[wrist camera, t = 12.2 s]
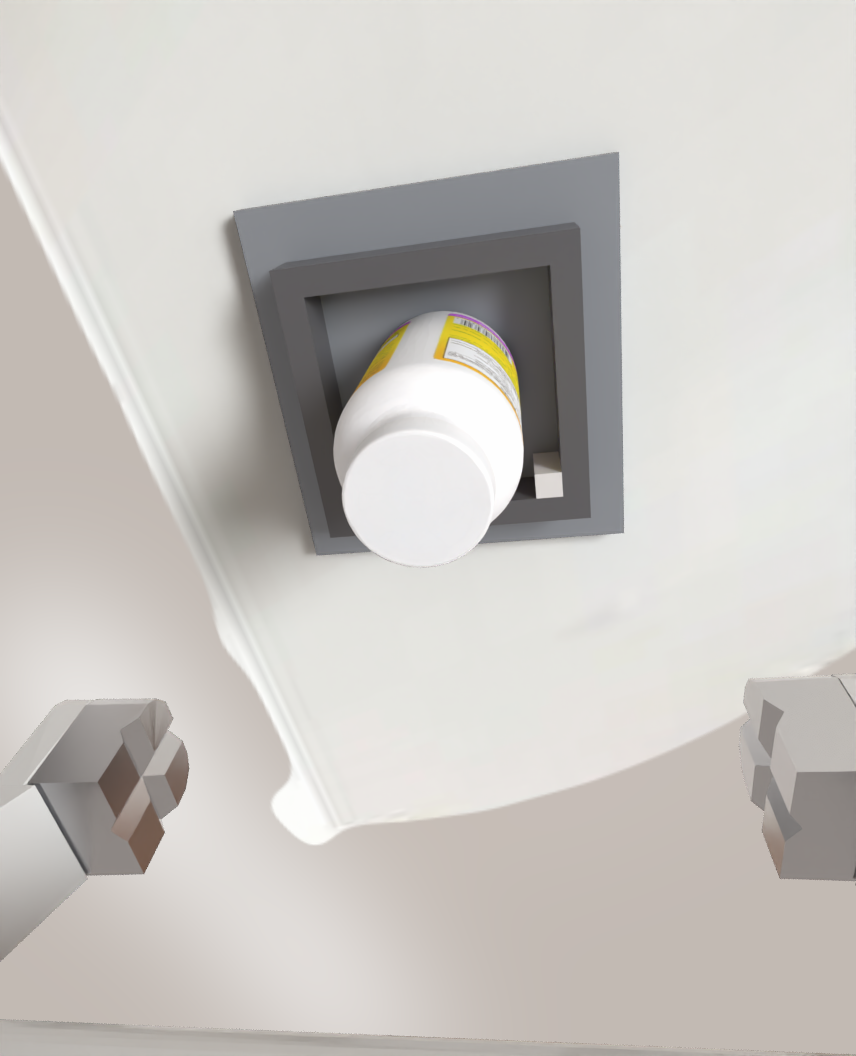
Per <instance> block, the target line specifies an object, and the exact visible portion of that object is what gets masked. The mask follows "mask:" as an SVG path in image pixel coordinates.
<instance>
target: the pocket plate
mask: <svg viewBox="0 0 856 1056" xmlns="http://www.w3.org/2000/svg"><path fill="white" fill-rule="evenodd" d="M233 213H234V217H235V221H236V225H237V229H238V233H239V237H240V241H241V245H242V250H243V254H244V258H245V262H246V266H247V270H248V274H249V278H250V282H251V287H252V291H253V295H254V299H255V303H256V307H257V311H258V315H259V319H260V324H261V328H262V332H263V336H264V340H265V344H266V348H267V352H268V356H269V360H270V365H271V369H272V373H273V377H274V381H275V385H276V389H277V393H278V397H279V402H280V406H281V410H282V414H283V418H284V422H285V426H286V430H287V434H288V439H289V443H290V447H291V451H292V455H293V459H294V463H295V467H296V471H297V475H298V480H299V484H300V488H301V492H302V496H303V500H304V504H305V508H306V512H307V517H308V521H309V525H310V529H311V533H312V537H313V541H314V545H315V549H316V554H317V555H329V554H343V553H357V552H370V551H371V550H370V549H368V548H367V547H366V546H365V545H364V544H363V543H362V542H361V541H360V540H359V539H358V537H357V536H356V535H355V533H354V532H353V530H352V529H351V527H350V525H349V523H348V521H347V518H346V516H345V513H344V509H343V504H342V486H341V484H340V482H339V479H338V476H337V472H336V469H335V464H334V455H333V447H334V437H335V431H336V427H337V424H338V421H339V418H340V416H341V414H342V412H343V410H344V408H345V406H346V404H347V402H348V401H349V399H350V398H351V396H352V395H353V393H354V391H355V390H356V388H357V386H358V385H359V383H360V382H361V380H362V378H363V376H364V375H365V373H366V371H367V370H368V368H369V366H370V365H371V363H372V361H373V359H374V358H375V356H376V354H377V353H378V351H379V350H380V348H381V347H382V345H383V344H384V342H385V341H386V339H387V338H388V337H389V336H390V335H391V334H392V333H393V332H394V331H395V330H396V329H397V328H398V327H399V326H401V325H402V324H403V323H405V322H407V321H408V320H410V319H412V318H414V317H417V316H419V315H422V314H425V313H429V312H436V311H451V312H458V313H463V314H466V315H469V316H472V317H474V318H476V319H478V320H480V321H482V322H483V323H485V324H486V325H488V326H489V327H490V328H492V329H493V330H494V331H495V332H496V333H497V334H498V335H499V336H500V337H501V339H502V340H503V341H504V343H505V344H506V346H507V347H508V349H509V351H510V353H511V355H512V357H513V360H514V363H515V366H516V371H517V376H518V385H519V395H520V408H521V423H522V434H523V446H524V453H523V468H522V473H521V477H520V481H519V484H518V486H517V489H516V491H515V493H514V495H513V497H512V499H511V500H510V502H509V503H508V505H507V506H506V508H505V509H504V510H503V511H502V512H501V514H500V515H499V516H498V517H497V518H496V519H494V520H493V521H492V522H491V523H490V525H489V527H488V529H487V531H486V533H485V535H484V536H483V538H482V539H481V540H480V541H479V543H478V544H480V543H493V542H507V541H521V540H534V539H548V538H562V537H575V536H589V535H603V534H616V533H624V500H623V424H622V348H621V271H620V195H619V152H613V153H607V154H600V155H594V156H587V157H581V158H574V159H567V160H561V161H554V162H548V163H541V164H535V165H528V166H522V167H515V168H509V169H502V170H496V171H489V172H483V173H476V174H470V175H463V176H457V177H450V178H444V179H437V180H430V181H424V182H417V183H411V184H404V185H398V186H391V187H385V188H378V189H372V190H365V191H359V192H352V193H346V194H339V195H333V196H326V197H320V198H313V199H306V200H300V201H293V202H287V203H280V204H274V205H267V206H261V207H254V208H248V209H241V210H237V211H233Z"/></svg>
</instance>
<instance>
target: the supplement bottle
mask: <svg viewBox="0 0 856 1056" xmlns="http://www.w3.org/2000/svg"><path fill="white" fill-rule="evenodd" d="M523 453H524V446H523V434H522V423H521V408H520V395H519V385H518V376H517V371H516V366H515V363H514V360H513V357H512V355H511V353H510V351H509V349H508V347H507V346H506V344H505V343H504V341H503V340H502V339H501V337H500V336H499V335H498V334H497V333H496V332H495V331H494V330H493V329H492V328H490V327H489V326H488V325H486V324H485V323H483V322H482V321H480V320H478V319H476V318H474V317H472V316H469V315H466V314H463V313H458V312H451V311H436V312H429V313H425V314H422V315H419V316H417V317H414V318H412V319H410V320H408V321H407V322H405V323H403V324H402V325H401V326H399V327H398V328H397V329H396V330H395V331H394V332H393V333H392V334H391V335H390V336H389V337H388V338H387V339H386V341H385V342H384V344H383V345H382V347H381V348H380V350H379V351H378V353H377V354H376V356H375V358H374V359H373V361H372V363H371V365H370V366H369V368H368V370H367V371H366V373H365V375H364V376H363V378H362V380H361V382H360V383H359V385H358V386H357V388H356V390H355V391H354V393H353V395H352V396H351V398H350V399H349V401H348V402H347V404H346V406H345V408H344V410H343V412H342V414H341V416H340V418H339V421H338V424H337V427H336V431H335V437H334V447H333V455H334V464H335V469H336V472H337V476H338V479H339V482H340V484H341V486H342V504H343V509H344V513H345V516H346V518H347V521H348V523H349V525H350V527H351V529H352V530H353V532H354V533H355V535H356V536H357V537H358V539H359V540H360V541H361V542H362V543H363V544H364V545H365V546H366V547H367V548H368V549H370V550H371V551H372V552H374V553H375V554H377V555H378V556H380V557H382V558H384V559H386V560H388V561H390V562H393V563H396V564H400V565H404V566H408V567H422V568H424V567H435V566H440V565H444V564H447V563H450V562H453V561H455V560H457V559H458V558H460V557H462V556H464V555H465V554H467V553H468V552H469V551H471V550H472V549H473V548H474V547H475V546H476V545H477V544H478V543H479V541H480V540H481V539H482V538H483V536H484V535H485V533H486V531H487V529H488V527H489V525H490V523H491V522H492V521H493V520H494V519H496V518H497V517H498V516H499V515H500V514H501V512H502V511H503V510H504V509H505V508H506V506H507V505H508V503H509V502H510V500H511V499H512V497H513V495H514V493H515V491H516V489H517V486H518V484H519V481H520V477H521V473H522V468H523Z"/></svg>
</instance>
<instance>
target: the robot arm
mask: <svg viewBox="0 0 856 1056" xmlns="http://www.w3.org/2000/svg"><path fill="white" fill-rule="evenodd" d="M743 703H744V705H745V708H746V710H747V713H748V715H749V718H750V719H749V720H748V721H747V722H746V723H745V724H744V725H743V726H742V727H741V728H740V743H739V750H740V761H741V769H742V773H743V777H744V782H745V785H746V788H747V791H748V794H749V796H750V799H751V801H752V802H753V803H754V804H756V805H757V806H758V807H759V808H761V809H762V810H763V811H764V817H763V826H762V833H763V835H764V838H765V841H766V843H767V846H768V849H769V851H770V854H771V857H772V859H773V862H774V865H775V867H776V870H777V873H778V875H779V878H780V879H809V880H839V881H856V674H836V675H831V676H803V677H778V678H754V679H748V681H747V684H746V686H745V691H744V700H743ZM172 720H173V717H172V714H171V712H170V710H169V708H168V706H167V704H166V702H165V701H162V700H159V699H96V700H65V701H63V702H61V703H59V704H57V705H55V706H54V707H53V709H52V710H51V711H50V712H49V714H48V715H47V716H46V717H45V719H44V720H43V721H42V722H41V723H40V725H39V726H38V727H37V728H36V730H35V731H34V732H33V733H32V735H31V736H30V737H29V738H28V740H27V741H26V742H25V743H24V745H23V746H22V747H21V748H20V750H19V751H18V752H17V753H16V755H15V756H14V757H13V758H12V760H11V761H10V762H9V763H8V765H7V766H6V767H5V768H4V770H3V771H2V772H1V773H0V961H1V960H2V959H4V958H5V957H6V956H7V955H8V954H9V953H10V952H11V951H12V950H13V949H14V948H15V947H16V946H17V945H18V944H19V943H20V942H22V941H23V940H24V939H25V938H26V937H27V936H28V935H29V934H30V933H31V932H32V931H33V930H34V929H35V928H36V927H37V926H38V925H39V924H41V923H42V922H43V921H44V920H45V919H46V918H47V917H48V916H49V915H50V914H51V913H52V912H53V911H54V910H55V909H56V908H57V907H59V906H60V905H61V904H62V903H63V902H64V901H65V900H66V899H67V898H68V897H69V896H70V895H71V894H72V893H73V892H74V891H75V890H76V889H78V888H79V886H81V885H82V884H83V883H84V882H85V881H86V880H87V875H124V874H125V875H129V874H144V873H145V871H146V869H147V867H148V865H149V863H150V861H151V859H152V857H153V855H154V853H155V851H156V849H157V847H158V845H159V843H160V841H161V839H162V837H163V835H164V833H165V831H164V828H163V824H162V820H161V819H162V818H163V817H165V816H166V815H167V814H168V813H170V812H171V811H172V810H173V809H174V808H176V807H177V806H178V805H179V802H180V800H181V798H182V796H183V794H184V791H185V789H186V784H187V779H188V772H189V763H188V755H187V751H186V749H185V746H184V743H183V741H182V740H180V738H178V737H177V736H176V735H174V734H173V733H172V732H170V731H169V730H168V729H169V727H170V725H171V723H172ZM0 1056H856V1055H850V1054H825V1053H802V1052H778V1051H777V1052H776V1051H754V1050H730V1049H729V1050H728V1049H705V1048H682V1047H658V1046H633V1045H608V1044H584V1043H561V1042H536V1041H512V1040H489V1039H465V1038H440V1037H417V1036H392V1035H367V1034H343V1033H342V1034H341V1033H318V1032H317V1033H315V1032H292V1031H269V1030H243V1029H218V1028H195V1027H171V1026H147V1025H123V1024H98V1023H75V1022H51V1021H28V1020H4V1019H0Z"/></svg>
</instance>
